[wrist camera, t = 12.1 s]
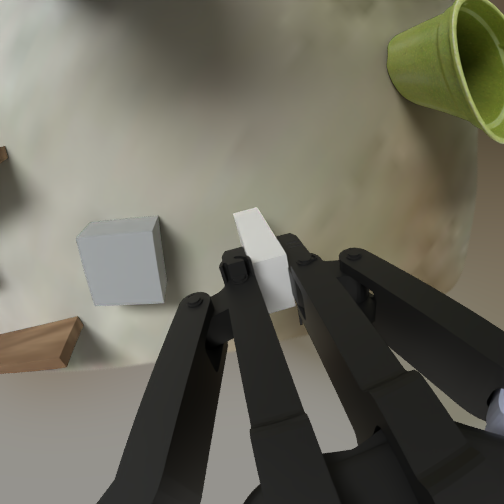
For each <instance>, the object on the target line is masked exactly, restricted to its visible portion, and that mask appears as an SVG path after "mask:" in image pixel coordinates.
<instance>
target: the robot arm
mask: <svg viewBox="0 0 504 504" xmlns="http://www.w3.org/2000/svg"><path fill="white" fill-rule="evenodd" d="M233 215H234V219H235V223H236V227H237V231H238V234H239V238H240V242H241V246H242V247H239V248H236V249H232V250H228V251H225V252H224V254H223V256H222V262H221V263H220V266H219V268H220V271H221V274H222V278H223V281H224V284H225V287H224V288H223V289H222V290H221V291H220V292H219V293H217V294H215V295H213V296H211V297H210V296H209V295H208V294H207V293H204V292H197V293H193V294H191V295H188V296H187V297H185V298H184V299H183V300H182V301H181V303H180V304H179V307H178V309H177V312H176V314H175V316H174V319H173V321H172V324H171V326H170V329H169V331H168V333H167V336H166V338H165V341H164V343H163V346H162V348H161V351H160V353H159V356H158V359H157V361H156V364H155V366H154V369H153V372H152V374H151V377H150V379H149V382H148V385H147V388H146V390H145V393H144V395H143V398H142V401H141V404H140V407H139V409H138V412H137V415H136V417H135V420H134V423H133V426H132V429H131V432H130V435H129V438H128V440H127V443H126V446H125V449H124V452H123V455H122V459H121V461H120V465H119V468H118V471H117V474H116V477H115V480H114V481H113V483H112V484H111V485H110V487H109V488H108V489H107V491H106V492H105V493H104V495H103V496H102V497H101V498H100V500H99V501H98V502H97V504H200V502H201V498H202V492H203V486H204V480H205V475H206V468H207V463H208V456H209V451H210V445H211V439H212V433H213V428H214V422H215V416H216V410H217V404H218V398H219V393H220V388H221V382H222V376H223V371H224V365H225V359H226V354H227V348H228V342H227V341H229V340H231V339H233V338H234V341H235V347H236V352H237V357H238V363H239V368H240V373H241V378H242V383H243V388H244V393H245V398H246V403H247V408H248V413H249V418H250V423H251V429H250V438H251V443H252V448H253V453H254V457H255V462H256V466H257V471H258V475H259V480H260V485H258V486H257V488H255V489H254V490H253V491H252V492H251V494H250V495H249V496H248V497H247V499H246V500H245V502H244V504H504V331H503V330H501V329H499V328H498V327H496V326H495V325H493V324H492V323H490V322H489V321H487V320H486V319H484V318H482V317H481V316H479V315H478V314H476V313H474V312H473V311H471V310H470V309H468V308H466V307H465V306H463V305H461V304H460V303H458V302H456V301H455V300H453V299H451V298H450V297H448V296H446V295H445V294H443V293H441V292H440V291H438V290H436V289H435V288H433V287H431V286H429V285H428V284H426V283H424V282H423V281H421V280H419V279H417V278H416V277H414V276H412V275H410V274H408V273H407V272H405V271H403V270H401V269H399V268H398V267H396V266H394V265H392V264H390V263H389V262H387V261H385V260H383V259H381V258H379V257H377V256H376V255H374V254H372V253H370V252H368V251H366V250H364V249H361V248H349V249H346V250H344V251H342V252H341V253H340V254H339V260H336V261H323V260H322V259H321V258H320V257H319V256H318V255H316V254H313V253H309V251H308V250H307V249H306V247H305V246H304V245H303V244H302V242H301V241H300V240H299V239H298V237H297V236H296V235H293V234H291V233H288V234H284V235H281V236H277V237H275V235H274V233H273V232H272V230H271V229H270V227H269V225H268V224H267V222H266V221H265V219H264V217H263V216H262V214H261V213H260V211H259V210H258V208H257V207H256V208H252V209H248V210H244V211H240V212H237V213H233ZM369 289H370V290H371V291H372V292H373V293H374V295H373V294H371V293H369ZM294 299H295V301H296V302H297V307H298V313H299V319H300V325H302V324H303V323H304V325H305V327H306V329H307V331H308V333H309V335H310V337H311V340H312V341H313V344H314V346H315V348H316V350H317V352H318V354H319V356H320V358H321V360H322V363H323V365H324V367H325V369H326V371H327V373H328V375H329V377H330V380H331V382H332V384H333V386H334V388H335V390H336V392H337V394H338V397H339V399H340V401H341V403H342V405H343V407H344V409H345V412H346V414H347V416H348V418H349V420H350V422H351V425H352V426H353V429H354V431H355V434H356V438H357V443H358V446H357V447H356V448H354V449H352V450H346V451H340V452H332V453H323V454H322V452H321V449H320V447H319V444H318V441H317V439H316V436H315V433H314V431H313V428H312V425H311V423H310V420H309V418H308V416H307V414H306V413H305V412H304V409H303V407H302V404H301V401H300V399H299V396H298V393H297V390H296V387H295V385H294V382H293V379H292V376H291V374H290V371H289V368H288V365H287V363H286V360H285V357H284V355H283V351H282V349H281V346H280V343H279V340H278V338H277V335H276V332H275V329H274V326H273V324H272V321H271V318H270V315H269V314H270V313H273V312H277V311H280V310H284V309H287V308H290V307H294V306H295V301H294ZM302 321H303V322H302ZM388 346H389V347H390V348H391V349H392V350H394V351H395V352H396V353H397V354H398V355H400V356H401V357H402V358H403V359H404V360H406V361H407V362H408V363H409V364H411V365H412V366H413V367H414V368H415V369H416V370H418V371H419V372H420V373H421V374H423V375H424V376H425V377H426V378H427V379H428V380H430V381H431V382H432V383H433V384H434V385H436V386H437V387H438V388H439V389H440V390H442V391H443V392H444V393H445V394H446V395H447V396H449V397H450V398H451V399H452V400H453V401H454V402H456V403H457V404H458V405H459V406H461V407H462V408H463V409H465V410H466V411H467V412H469V413H470V414H472V415H474V416H476V417H477V418H479V419H482V420H484V421H486V423H487V425H486V428H485V430H481V429H478V428H474V427H471V426H468V425H465V424H462V423H458V422H455V421H453V419H452V418H451V417H450V415H449V413H448V412H447V410H446V409H445V407H444V406H443V405H442V403H441V402H440V400H439V399H438V397H437V396H436V395H435V393H434V392H433V390H432V389H431V387H430V386H429V385H428V383H427V382H426V380H425V379H424V378H423V376H422V375H421V374H420V373H419V372H417V371H415V370H412V371H406V370H405V369H404V368H403V366H402V365H401V364H400V362H399V361H398V359H397V358H396V357H395V355H394V354H393V352H392V351H391V350H390V348H389V347H388Z"/></svg>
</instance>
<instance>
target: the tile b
mask: <svg viewBox="0 0 504 504" xmlns="http://www.w3.org/2000/svg"><path fill="white" fill-rule="evenodd" d="M76 240H77V245H78V249H79V253H80V257H81V261H82V265H83V268H84V272H85V276H86V279H87V283H88V286H89V289H90V293H91V296H92V299H93V302H94V305H95V306H110V305H135V304H155V303H164V299H165V292H166V286H167V276H166V270H165V263H164V256H163V249H162V242H161V234H160V226H159V217H158V216H148V217H137V218H126V219H116V220H106V221H97V222H90V223H89V224H88V225H87V226H86V227H85V228H84V229H83V231H82V232H81V233H80V234H79V235H78V236H77V237H76Z"/></svg>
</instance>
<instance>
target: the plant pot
mask: <svg viewBox="0 0 504 504" xmlns="http://www.w3.org/2000/svg"><path fill="white" fill-rule="evenodd" d="M387 69H388V73H389V75H390V78H391V80H392V82H393V84H394V86H395V87H396V89H397V90H398V91H399V92H400V94H401V95H402V96H403V97H405V98H406V99H407V100H409V101H411V102H413V103H415V104H418V105H421V106H425V107H428V108H432V109H435V110H439V111H442V112H445V113H448V114H451V115H454V116H456V117H459V118H462V119H465V120H467V121H470V122H471V123H472V124H473V125H474V126H476V127H477V128H479V129H482V130H483V131H484V132H485V133H486V134H487V135H488V136H489V137H490V138H491V139H493V140H494V141H496V142H498V143H501V144H504V15H503V14H502V13H501V12H500V11H499V9H498V8H496V7H495V6H494V5H493V4H492V3H491V2H490V1H488V0H455V2H454V4H453V6H451V7H449V8H448V9H447V10H446V11H445V12H444V13H443V14H441V15H439V16H436V17H434V18H432V19H430V20H427V21H425V22H423V23H421V24H419V25H417V26H415V27H413V28H411V29H409V30H406V31H404V32H402V33H400V34H398V35H396V36H395V37H394V38H393V39H392V40H391V41H390V43H389V45H388V60H387Z"/></svg>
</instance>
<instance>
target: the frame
mask: <svg viewBox="0 0 504 504" xmlns="http://www.w3.org/2000/svg"><path fill="white" fill-rule="evenodd" d="M7 158H8V156H7V152H6V149H5V146H3V147H0V163H2V162H3V161H5V160H6V159H7ZM82 328H83V324H82V322H81V321H80V319H79V317H78V316H77V317H73V318H69V319H65V320H60V321H56V322H52V323H48V324H44V325H39V326H35V327H31V328H26V329H22V330H18V331H13V332H9V333H4V334H0V374H4V373H17V372H29V371H39V370H48V369H57V368H65V367H67V365H68V362H69V360H70V357H71V354H72V352H73V349H74V347H75V344H76V342H77V339H78V337H79V335H80V332H81V330H82Z"/></svg>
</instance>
